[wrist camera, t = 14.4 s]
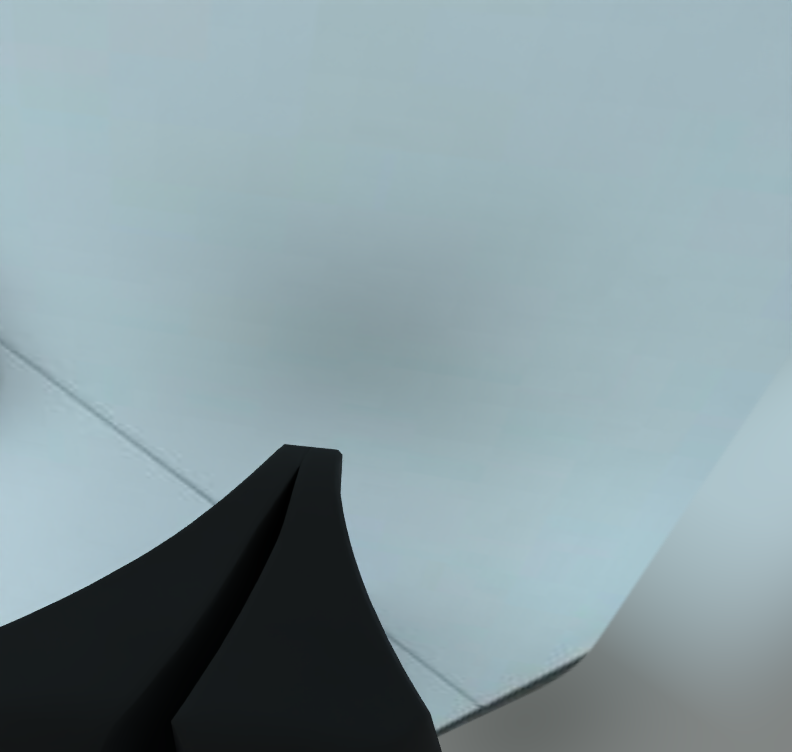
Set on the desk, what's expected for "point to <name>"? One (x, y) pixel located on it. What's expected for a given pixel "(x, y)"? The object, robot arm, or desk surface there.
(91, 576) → the desk surface
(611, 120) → the desk surface
